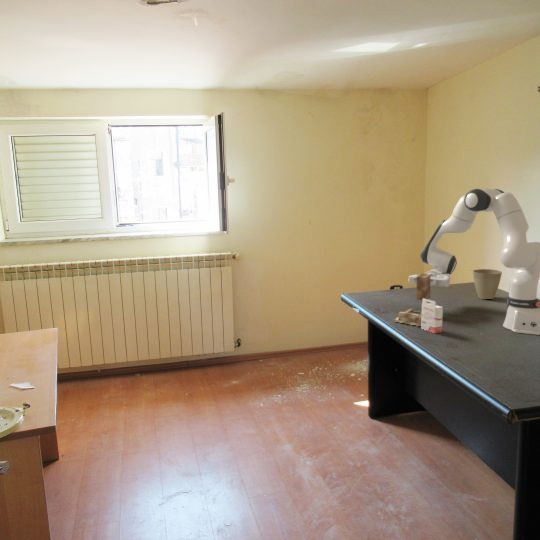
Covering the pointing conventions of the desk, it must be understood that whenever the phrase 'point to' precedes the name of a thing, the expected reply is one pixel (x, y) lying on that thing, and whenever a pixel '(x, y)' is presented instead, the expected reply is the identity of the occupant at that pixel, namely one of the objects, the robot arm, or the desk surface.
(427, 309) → the ink cartridge box
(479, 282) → the plant pot
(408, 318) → the track
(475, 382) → the desk surface
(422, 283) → the tall tan wooden block
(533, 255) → the robot arm
